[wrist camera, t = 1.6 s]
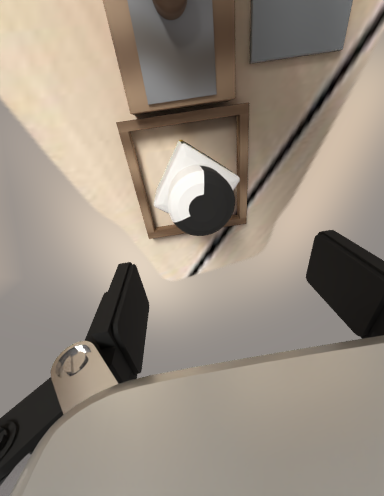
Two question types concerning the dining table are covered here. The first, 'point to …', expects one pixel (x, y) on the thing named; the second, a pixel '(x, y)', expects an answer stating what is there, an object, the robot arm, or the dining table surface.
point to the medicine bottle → (196, 191)
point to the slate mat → (297, 28)
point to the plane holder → (177, 77)
